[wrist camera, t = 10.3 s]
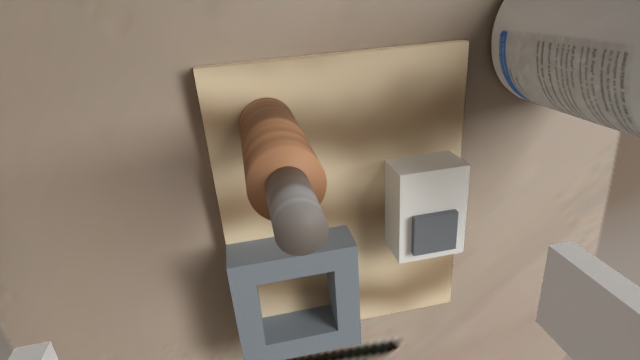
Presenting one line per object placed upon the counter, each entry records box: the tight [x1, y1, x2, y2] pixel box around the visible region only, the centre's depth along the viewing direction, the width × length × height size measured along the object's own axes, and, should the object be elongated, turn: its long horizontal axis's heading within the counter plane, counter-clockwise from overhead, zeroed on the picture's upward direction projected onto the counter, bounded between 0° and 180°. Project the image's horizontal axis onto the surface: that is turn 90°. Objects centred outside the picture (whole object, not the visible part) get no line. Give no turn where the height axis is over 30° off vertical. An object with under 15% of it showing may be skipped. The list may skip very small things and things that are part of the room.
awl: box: [239, 97, 329, 256], centre depth 22 cm, size 4×4×14 cm
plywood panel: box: [193, 40, 469, 320], centre depth 32 cm, size 22×18×1 cm
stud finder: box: [385, 150, 471, 264], centre depth 31 cm, size 7×5×4 cm
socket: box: [226, 225, 361, 360], centre depth 32 cm, size 9×9×3 cm
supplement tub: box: [491, 0, 640, 137], centre depth 24 cm, size 10×10×15 cm
